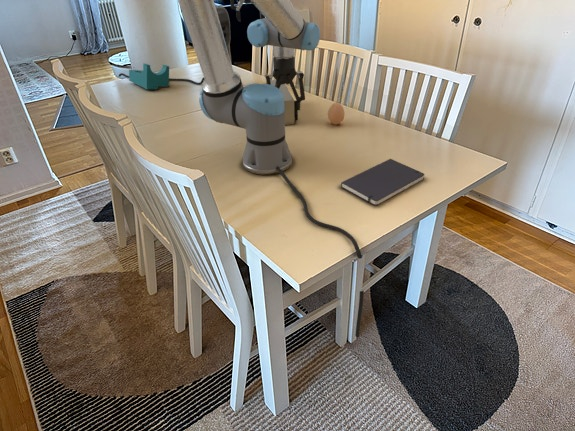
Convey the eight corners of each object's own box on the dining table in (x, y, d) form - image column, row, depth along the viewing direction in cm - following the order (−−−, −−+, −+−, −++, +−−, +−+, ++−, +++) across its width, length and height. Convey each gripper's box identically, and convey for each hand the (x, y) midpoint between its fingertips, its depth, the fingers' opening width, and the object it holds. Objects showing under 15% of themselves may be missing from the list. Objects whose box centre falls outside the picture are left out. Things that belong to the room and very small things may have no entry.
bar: (294, 124, 150) (294, 100, 145) (280, 125, 150) (279, 101, 144) (282, 101, 170) (282, 79, 165) (270, 102, 170) (269, 80, 164)
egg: (332, 128, 146) (333, 107, 141) (324, 122, 150) (325, 101, 146) (346, 125, 148) (348, 104, 143) (338, 119, 152) (339, 99, 148)
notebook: (389, 163, 124) (340, 187, 113) (390, 158, 123) (341, 182, 112) (424, 178, 116) (375, 206, 105) (425, 174, 115) (376, 201, 104)
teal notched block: (168, 89, 190) (169, 66, 185) (146, 89, 182) (147, 65, 178) (150, 81, 201) (150, 59, 196) (129, 80, 193) (129, 57, 189)
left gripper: (265, -30, 151) (267, 17, 161) (227, -28, 150) (231, 19, 159) (267, -28, 145) (270, 21, 155) (228, -27, 143) (233, 23, 153)
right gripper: (309, 51, 143) (309, 113, 157) (253, 55, 140) (258, 118, 154) (314, 57, 137) (314, 120, 150) (256, 61, 134) (260, 126, 148)
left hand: (250, 20), depth 157 cm, fingers open, 8 cm apart
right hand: (285, 119), depth 152 cm, fingers open, 7 cm apart
